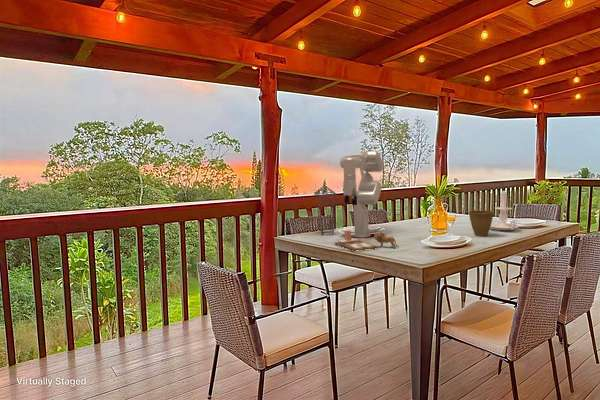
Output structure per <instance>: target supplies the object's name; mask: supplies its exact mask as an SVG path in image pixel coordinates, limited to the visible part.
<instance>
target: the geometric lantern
mask: <svg viewBox="0 0 600 400" xmlns="http://www.w3.org/2000/svg"><path fill="white" fill-rule="evenodd" d="M322 190H323V191H322ZM321 191H322V192H321ZM328 191H329V192H328ZM313 194H314V198H315V201H316V203H317V230H318V231H320V233H321V235H322V236H323V235H325V236H327V235H329V236H330V235H331V236H332V235H334V231H335V230H336V229H337V223H336V215H335V205H334V202H335V199H336V195H337V193H336V191H333V190H332V189H331V188H330V187H328V186H326V185H323V186H321V187H320V188H319V189H318V190H317V191H315V192H314V193H313ZM317 197H318V198H320V203H319V200H318V198H317ZM331 197H333V199H332V200H333V201H331V200H330V198H331ZM324 200H327V202H323V201H324ZM327 205H330V211H331V224H329V225H328V227H331V228H322V227H326V225H322V214H321V213H322V207H325V206H327ZM319 221H320V222H319Z"/></svg>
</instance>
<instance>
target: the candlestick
mask: <svg viewBox="0 0 600 400" xmlns="http://www.w3.org/2000/svg"><path fill="white" fill-rule="evenodd" d="M507 194H508V192H507V190H503V191H500V206H497V207H494V209H496V210H499V211H500V213H499V214H498V218H499V220H500V221H501V222H498V223H495V222H494V223H493V222H492V223H491V227H490V229H493V230H496V231H508V232H509V231H513V230H516V229H518V228H520V225H519V224H516V222H517V220H511V221H510V223H507V222H506V221H507V220H508V217H509V215H508V213H507V211H509V210H512V209H513V207H508V206H507V202H508V201H507V199H508V198H507V196H508V195H507Z"/></svg>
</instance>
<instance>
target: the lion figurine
mask: <svg viewBox="0 0 600 400" xmlns="http://www.w3.org/2000/svg"><path fill="white" fill-rule="evenodd" d="M373 237H374V240H375V241H376V242H377V243H380V247H382V248H383V246H384V244H388V243H390V244H391V246H390V248H393V249H394V248H395V249H396V247H397V248H399V247H400V246H399V245H397V242H396V239H395V238H394V236H385V235H384V234H383V233H380V232H374V236H373Z"/></svg>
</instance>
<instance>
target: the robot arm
mask: <svg viewBox="0 0 600 400" xmlns="http://www.w3.org/2000/svg"><path fill="white" fill-rule="evenodd" d="M339 166H340V167H341V168H342V169H343V183H342V185H343V186H342V192H343V193H342V194H343V199H344V204H349V203H350V196H351V198H352V199H351V206H353V213H354V214H353V217H354V221H353V223H354V225H353V226H354V228H353V229H354V233H355V234H354V233H351V237H354V238H361V239H362V238H369V237H371V236H372V235H371V233H375V229H370V228H369V210H368V208H367V205H373V206H374V205H377V203H378V202H379V198H380V196H381V192H382V183H381V182H380V181H379V180H374V177H373V175H372V174H370V173H380V172H383V170H384V168H385V167H384V166H385V165H384V161H383V158H382V156H381V154H380V153H379V151H377V150H363V151H360V152H358V153H354V154H349V155H344V156H343V157H341V159H340V161H339ZM357 169H359V171H360V176H361V179H360V181H359V184H358V186H357V182H356V180H357V175H356V174H357V172H356V171H357ZM357 187H358V188H357Z"/></svg>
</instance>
